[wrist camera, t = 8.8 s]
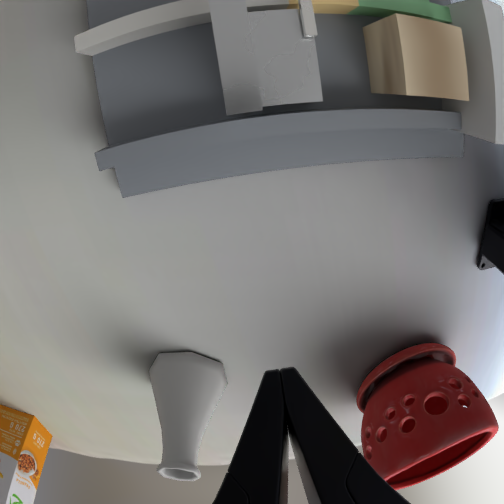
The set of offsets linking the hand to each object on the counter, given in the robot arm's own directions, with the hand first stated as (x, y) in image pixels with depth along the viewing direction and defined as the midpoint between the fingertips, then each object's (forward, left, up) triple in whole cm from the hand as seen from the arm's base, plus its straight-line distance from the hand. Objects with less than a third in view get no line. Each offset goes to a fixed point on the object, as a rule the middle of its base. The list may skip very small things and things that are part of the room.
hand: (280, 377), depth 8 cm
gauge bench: (-3, -9, -12) cm, 15 cm away
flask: (+8, +14, -12) cm, 20 cm away
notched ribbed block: (-2, -11, -11) cm, 16 cm away
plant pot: (-13, +20, -12) cm, 27 cm away
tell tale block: (-9, -9, -11) cm, 17 cm away
